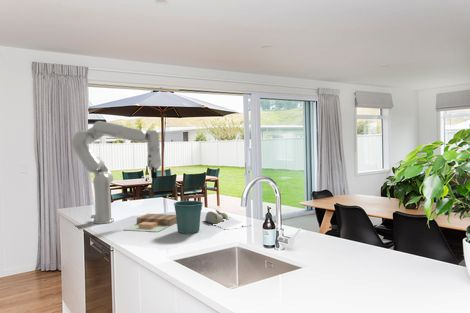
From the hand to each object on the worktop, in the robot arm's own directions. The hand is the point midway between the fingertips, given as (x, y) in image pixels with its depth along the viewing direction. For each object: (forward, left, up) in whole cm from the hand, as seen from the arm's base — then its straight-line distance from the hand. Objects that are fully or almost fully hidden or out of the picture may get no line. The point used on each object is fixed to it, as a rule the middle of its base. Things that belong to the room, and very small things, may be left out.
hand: (154, 178), depth 244 cm
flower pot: (+33, -23, -27) cm, 49 cm away
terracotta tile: (+6, -21, -24) cm, 33 cm away
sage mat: (+6, -22, -27) cm, 35 cm away
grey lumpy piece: (+47, +3, -28) cm, 55 cm away
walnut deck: (+6, -7, -27) cm, 29 cm away
